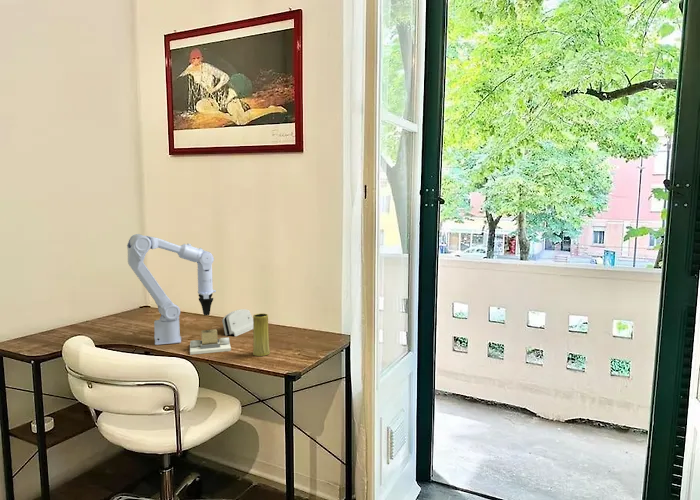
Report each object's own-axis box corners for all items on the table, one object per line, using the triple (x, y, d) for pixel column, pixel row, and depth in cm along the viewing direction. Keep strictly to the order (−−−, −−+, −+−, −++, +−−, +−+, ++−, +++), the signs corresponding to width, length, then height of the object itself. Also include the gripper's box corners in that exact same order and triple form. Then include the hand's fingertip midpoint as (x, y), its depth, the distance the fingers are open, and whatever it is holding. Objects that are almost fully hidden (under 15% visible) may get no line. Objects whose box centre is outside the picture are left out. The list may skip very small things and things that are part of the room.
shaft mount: (190, 354, 179) (189, 345, 179) (190, 345, 190) (189, 336, 190) (231, 350, 183) (230, 341, 183) (228, 341, 195) (228, 333, 194)
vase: (270, 351, 183) (270, 313, 181) (268, 356, 177) (268, 317, 175) (254, 351, 183) (253, 313, 181) (251, 356, 177) (250, 317, 175)
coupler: (217, 343, 189) (216, 329, 189) (217, 346, 186) (217, 331, 185) (202, 344, 188) (201, 330, 187) (202, 347, 184) (201, 333, 183)
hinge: (235, 336, 202) (227, 313, 202) (226, 339, 204) (218, 316, 204) (258, 326, 217) (251, 305, 217) (249, 329, 219) (243, 307, 219)
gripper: (216, 282, 196) (217, 316, 197) (214, 276, 209) (215, 308, 211) (197, 283, 193) (198, 317, 195) (197, 277, 207) (198, 309, 209)
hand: (206, 313), depth 203 cm, fingers open, 7 cm apart
